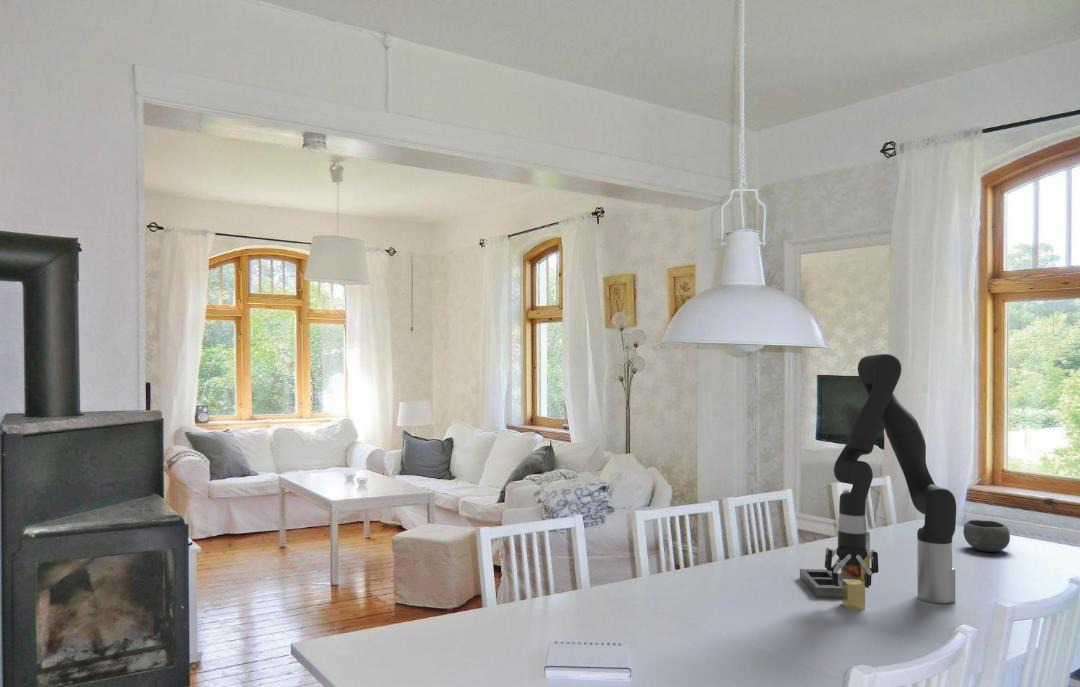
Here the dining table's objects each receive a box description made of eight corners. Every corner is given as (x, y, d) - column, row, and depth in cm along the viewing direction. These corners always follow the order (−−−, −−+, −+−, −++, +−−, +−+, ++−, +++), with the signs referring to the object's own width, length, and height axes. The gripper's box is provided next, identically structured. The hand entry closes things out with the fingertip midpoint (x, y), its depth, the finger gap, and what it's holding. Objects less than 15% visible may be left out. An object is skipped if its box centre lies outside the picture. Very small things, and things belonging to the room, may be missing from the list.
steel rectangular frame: (828, 579, 249) (828, 569, 249) (847, 598, 229) (847, 588, 229) (799, 578, 250) (799, 568, 250) (816, 597, 230) (816, 587, 230)
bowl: (1019, 556, 278) (1019, 527, 278) (977, 555, 279) (977, 527, 279) (995, 545, 293) (995, 519, 293) (955, 545, 293) (955, 519, 294)
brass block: (859, 604, 224) (859, 579, 224) (865, 609, 219) (864, 584, 220) (842, 603, 225) (842, 579, 225) (847, 609, 220) (847, 584, 220)
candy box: (839, 573, 255) (839, 527, 256) (849, 572, 257) (849, 525, 257) (860, 580, 247) (860, 532, 247) (870, 579, 249) (870, 531, 249)
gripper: (873, 527, 226) (872, 583, 226) (823, 525, 227) (822, 581, 227) (882, 533, 218) (881, 591, 218) (829, 531, 220) (828, 588, 220)
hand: (851, 586), depth 223 cm, fingers open, 8 cm apart
